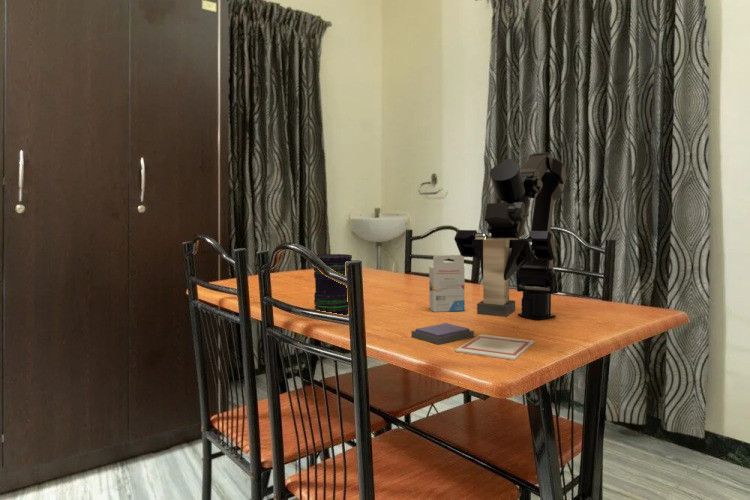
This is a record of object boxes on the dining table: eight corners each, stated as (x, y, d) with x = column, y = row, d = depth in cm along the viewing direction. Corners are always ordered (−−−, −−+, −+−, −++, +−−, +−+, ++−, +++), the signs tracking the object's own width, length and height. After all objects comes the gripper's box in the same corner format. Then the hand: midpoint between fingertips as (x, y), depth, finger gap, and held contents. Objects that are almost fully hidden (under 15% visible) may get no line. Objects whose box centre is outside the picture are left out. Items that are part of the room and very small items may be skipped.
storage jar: (338, 319, 123) (337, 258, 122) (306, 315, 128) (305, 256, 127) (360, 312, 131) (359, 254, 130) (329, 308, 136) (329, 253, 135)
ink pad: (446, 329, 110) (446, 322, 110) (473, 336, 104) (473, 328, 104) (411, 336, 104) (411, 328, 104) (438, 344, 98) (438, 335, 98)
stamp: (486, 308, 100) (486, 237, 98) (515, 310, 97) (515, 238, 96) (477, 314, 95) (476, 240, 94) (506, 317, 92) (506, 240, 91)
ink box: (459, 307, 136) (460, 253, 135) (464, 311, 131) (465, 254, 130) (428, 308, 135) (428, 253, 134) (432, 312, 130) (432, 255, 129)
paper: (480, 335, 105) (480, 333, 105) (534, 342, 99) (534, 340, 99) (454, 351, 93) (454, 349, 93) (514, 360, 87) (514, 357, 87)
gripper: (457, 190, 102) (435, 248, 94) (553, 187, 93) (538, 251, 84) (471, 227, 109) (451, 284, 101) (561, 228, 100) (548, 291, 91)
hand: (493, 278), depth 94 cm, fingers closed on stamp, 4 cm apart
